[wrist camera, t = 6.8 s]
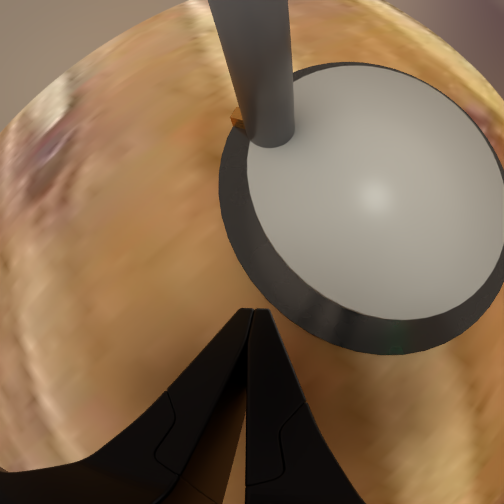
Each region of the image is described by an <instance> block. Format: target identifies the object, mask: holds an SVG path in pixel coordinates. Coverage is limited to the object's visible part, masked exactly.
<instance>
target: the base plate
mask: <svg viewBox="0 0 504 504" xmlns="http://www.w3.org/2000/svg"><path fill="white" fill-rule="evenodd" d="M340 66H371V67H378V68H383V69H388V70H392V71H395V72H399V73H402V74H405V75H407V76H410V77H412V78H415V79H417V80H419V81H421V82H423V83H425V84H427V85H428V86H430V87H432V88H433V89H435V90H437V91H438V92H440V93H441V94H443V93H442V92H441V91H439V90H438V89H436V88H434V87H433V86H431V85H429V84H428V83H426V82H424V81H422V80H420V79H418V78H416V77H414V76H412V75H409V74H407V73H404V72H401V71H398V70H396V69H392V68H388V67H384V66H380V65H375V64H368V63H359V62H337V63H327V64H321V65H316V66H312V67H308V68H305V69H302V70H298V71H296V72H294V73H293V82H295V81H296V80H298V79H300V78H302V77H304V76H306V75H309V74H311V73H314V72H316V71H320V70H324V69H328V68H333V67H340ZM443 95H444V96H445V97H446V98H448V99H449V100H450V101H452V102H453V103H454V104H455V105H456V106H457V107H458V108H459V109H460V110H461V111H462V112H464V113H465V114H466V116H467V117H468V118H469V119H470V120H471V121H472V122H473V124H474V125H475V126H476V127H477V129H478V130H479V132H480V133H481V134H482V136H483V137H484V139H485V141H486V142H487V144H488V146H489V147H490V149H491V151H492V153H493V155H494V158H495V160H496V162H497V164H498V167H499V170H500V173H501V176H502V179H503V183H504V170H503V167H502V165H501V163H500V161H499V159H498V156H497V154H496V153H495V151H494V149H493V147H492V146H491V144H490V142H489V141H488V139H487V138H486V136H485V135H484V133H483V132H482V131H481V129H480V128H479V127H478V125H477V124H476V123H475V122H474V121H473V120H472V119H471V118H470V116H469V115H468V114H467V113H466V112H465V111H464V110H463V109H462V108H461V107H459V106H458V105H457V104H456V103H455V102H454V101H453V100H451V99H450V98H449V97H447V96H446V95H445V94H443ZM230 118H231V121H232V124H233V128H232V130H231V132H230V134H229V136H228V138H227V141H226V144H225V147H224V150H223V153H222V158H221V164H220V170H219V200H220V207H221V215H222V219H223V222H224V225H225V229H226V232H227V236H228V239H229V241H230V243H231V245H232V247H233V250H234V252H235V254H236V256H237V258H238V260H239V262H240V264H241V265H242V267H243V268H244V270H245V271H246V273H247V275H248V276H249V278H250V279H251V281H252V282H253V283H254V284H255V286H256V287H257V288H258V289H259V290H260V292H261V293H262V294H263V295H264V296H265V297H266V299H267V300H268V301H269V302H270V303H271V304H273V305H274V306H275V307H276V308H277V309H278V310H279V311H280V312H281V313H282V314H284V315H285V316H286V317H287V318H288V319H290V320H291V321H293V322H294V323H296V324H297V325H299V326H300V327H302V328H303V329H305V330H306V331H307V332H309V333H311V334H313V335H315V336H317V337H319V338H321V339H323V340H325V341H327V342H329V343H332V344H334V345H337V346H341V347H344V348H347V349H350V350H353V351H357V352H363V353H370V354H377V355H404V354H410V353H415V352H420V351H425V350H428V349H431V348H434V347H436V346H439V345H442V344H444V343H446V342H448V341H450V340H451V339H453V338H455V337H457V336H458V335H460V334H462V333H463V332H464V331H466V330H467V329H468V328H469V327H470V326H472V325H473V324H474V323H475V322H476V321H477V320H478V319H479V318H480V317H481V316H482V315H483V314H484V313H485V311H486V310H487V309H488V308H489V307H490V305H491V304H492V302H493V301H494V299H495V297H496V296H497V294H498V293H499V291H500V289H501V286H502V284H503V282H504V244H503V248H502V251H501V254H500V257H499V259H498V261H497V263H496V265H495V267H494V269H493V271H492V273H491V274H490V276H489V277H488V279H487V280H486V281H485V283H484V284H483V285H482V286H481V287H480V288H479V289H478V290H477V291H476V292H475V293H474V294H473V295H472V296H471V297H470V298H468V299H467V300H466V301H464V302H463V303H462V304H460V305H458V306H456V307H454V308H452V309H450V310H448V311H446V312H444V313H441V314H438V315H434V316H431V317H427V318H419V319H411V320H392V319H380V318H375V317H370V316H366V315H362V314H359V313H356V312H353V311H351V310H348V309H345V308H343V307H341V306H339V305H337V304H335V303H333V302H331V301H329V300H328V299H326V298H324V297H322V296H321V295H320V294H318V293H317V292H316V291H314V290H313V289H311V288H310V287H309V286H307V285H306V284H305V283H304V282H303V281H302V280H301V279H299V278H298V277H297V276H296V275H295V274H294V273H293V272H292V271H291V270H290V269H289V268H288V266H287V265H286V264H285V263H284V262H283V260H282V259H281V258H280V257H279V256H278V254H277V253H276V251H275V250H274V248H273V247H272V245H271V243H270V242H269V240H268V239H267V237H266V235H265V233H264V231H263V229H262V226H261V224H260V222H259V220H258V218H257V215H256V212H255V209H254V205H253V202H252V199H251V195H250V191H249V184H248V177H247V156H248V150H249V144H250V140H249V138H248V136H247V133H246V130H245V126H244V122H243V119H242V115H241V111H240V108H239V107H236V109H235V110H234V112H233V113H232V115H231V117H230Z"/></svg>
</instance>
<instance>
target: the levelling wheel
mask: <svg viewBox="0 0 504 504" xmlns="http://www.w3.org/2000/svg"><path fill="white" fill-rule="evenodd" d="M208 2H209V6H210V9H211V12H212V15H213V19H214V22H215V25H216V29H217V32H218V35H219V38H220V42H221V45H222V49H223V52H224V55H225V59H226V62H227V66H228V69H229V73H230V76H231V80H232V83H233V87H234V90H235V94H236V97H237V101H238V104H239V108H240V111H241V115H242V119H243V122H244V126H245V130H246V133H247V136H248V138H249V140H250V144H249V150H248V156H247V177H248V184H249V191H250V195H251V199H252V202H253V205H254V209H255V212H256V215H257V218H258V220H259V222H260V224H261V226H262V229H263V231H264V233H265V235H266V237H267V239H268V240H269V242H270V243H271V245H272V247H273V248H274V250H275V251H276V253H277V254H278V256H279V257H280V258H281V259H282V260H283V262H284V263H285V264H286V265H287V266H288V268H289V269H290V270H291V271H292V272H293V273H294V274H295V275H296V276H297V277H298V278H299V279H301V280H302V281H303V282H304V283H305V284H306V285H307V286H309V287H310V288H311V289H313V290H314V291H316V292H317V293H318V294H320V295H321V296H322V297H324V298H326V299H328V300H329V301H331V302H333V303H335V304H337V305H339V306H341V307H343V308H345V309H348V310H351V311H353V312H356V313H359V314H362V315H366V316H370V317H375V318H380V319H392V320H411V319H419V318H427V317H431V316H434V315H438V314H441V313H444V312H446V311H448V310H450V309H452V308H454V307H456V306H458V305H460V304H462V303H463V302H464V301H466V300H467V299H468V298H470V297H471V296H472V295H473V294H474V293H475V292H476V291H477V290H478V289H479V288H480V287H481V286H482V285H483V284H484V283H485V281H486V280H487V279H488V277H489V276H490V274H491V273H492V271H493V269H494V267H495V265H496V263H497V261H498V259H499V257H500V254H501V251H502V248H503V244H504V183H503V179H502V176H501V173H500V170H499V167H498V164H497V162H496V160H495V158H494V155H493V153H492V151H491V149H490V147H489V146H488V144H487V142H486V141H485V139H484V137H483V136H482V134H481V133H480V132H479V130H478V129H477V127H476V126H475V125H474V124H473V122H472V121H471V120H470V119H469V118H468V117H467V116H466V114H465V113H464V112H462V111H461V110H460V109H459V108H458V107H457V106H456V105H455V104H454V103H453V102H452V101H450V100H449V99H448V98H446V97H445V96H444V95H443V94H441V93H440V92H438V91H437V90H435V89H433V88H432V87H430V86H428V85H427V84H425V83H423V82H421V81H419V80H417V79H415V78H412V77H410V76H407V75H405V74H402V73H399V72H395V71H392V70H388V69H383V68H378V67H371V66H340V67H333V68H328V69H324V70H320V71H316V72H314V73H311V74H309V75H306V76H304V77H302V78H300V79H298V80H296V81H295V82H293V70H292V52H291V37H290V23H289V11H288V0H208Z"/></svg>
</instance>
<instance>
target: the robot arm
mask: <svg viewBox="0 0 504 504" xmlns="http://www.w3.org/2000/svg"><path fill="white" fill-rule="evenodd" d="M245 412H246V470H245V486H246V488H245V504H366V503H365V502H364V501H363V499H362V498H361V497H360V496H359V494H358V493H357V491H356V490H355V489H354V487H353V486H352V484H351V483H350V481H349V479H348V478H347V476H346V475H345V473H344V471H343V470H342V468H341V467H340V465H339V463H338V462H337V460H336V459H335V457H334V455H333V454H332V452H331V450H330V449H329V447H328V445H327V443H326V442H325V440H324V438H323V436H322V434H321V433H320V431H319V428H318V426H317V424H316V422H315V420H314V417H313V415H312V413H311V410H310V408H309V405H308V403H307V402H306V398H305V396H304V393H303V391H302V389H301V386H300V384H299V381H298V379H297V376H296V374H295V371H294V369H293V366H292V364H291V361H290V359H289V356H288V354H287V351H286V349H285V346H284V344H283V341H282V339H281V336H280V334H279V331H278V329H277V326H276V324H275V321H274V319H273V316H272V314H271V311H270V310H269V309H259V308H257V309H255V310H254V309H252V308H240V309H239V310H238V311H237V312H236V313H235V314H234V315H233V316H232V318H231V319H230V320H229V321H228V322H227V323H226V324H225V325H224V327H223V328H222V329H221V330H220V331H219V332H218V333H217V334H216V336H215V337H214V338H213V339H212V340H211V341H210V342H209V343H208V345H207V346H206V347H205V348H204V349H203V350H202V351H201V352H200V353H199V355H198V356H197V357H196V358H195V359H194V360H193V361H192V362H191V363H190V364H189V366H188V367H187V368H186V369H185V370H184V371H183V372H182V373H181V374H180V375H179V376H178V378H177V379H176V380H175V381H174V382H173V383H172V384H171V385H170V386H169V387H168V388H167V391H164V393H163V394H162V395H161V396H160V397H159V398H158V399H157V400H156V401H155V402H154V403H153V404H152V405H151V406H150V407H149V408H148V409H147V410H146V411H145V412H144V413H143V414H142V415H141V416H140V417H138V418H137V419H136V420H135V421H134V422H133V423H132V424H130V425H129V426H128V427H127V428H126V429H124V430H123V431H122V432H121V433H119V434H118V435H117V436H116V437H114V438H113V439H112V440H111V441H109V442H108V443H107V444H106V445H104V446H103V447H102V448H100V449H99V450H98V451H96V452H95V453H94V454H92V455H90V456H89V457H87V458H85V459H82V460H80V461H77V462H74V463H70V464H65V465H60V466H54V467H49V468H43V469H37V470H30V471H22V472H8V471H6V470H4V469H3V468H1V467H0V504H222V502H223V499H224V495H225V491H226V487H227V484H228V480H229V476H230V472H231V468H232V464H233V461H234V457H235V453H236V449H237V445H238V441H239V437H240V433H241V428H242V424H243V420H244V416H245Z"/></svg>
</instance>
